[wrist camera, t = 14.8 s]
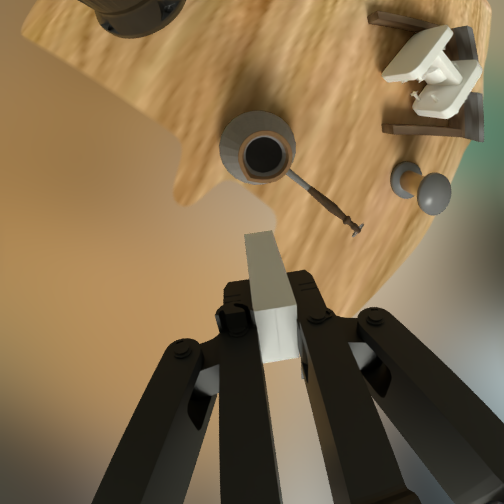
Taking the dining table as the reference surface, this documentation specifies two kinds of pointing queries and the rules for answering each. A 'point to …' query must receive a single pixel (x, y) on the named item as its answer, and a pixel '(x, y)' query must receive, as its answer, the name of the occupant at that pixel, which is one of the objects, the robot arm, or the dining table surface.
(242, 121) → the coffee pot
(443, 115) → the cable organizer
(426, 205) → the mushroom drawer knob
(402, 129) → the notched bay
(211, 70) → the dining table surface
